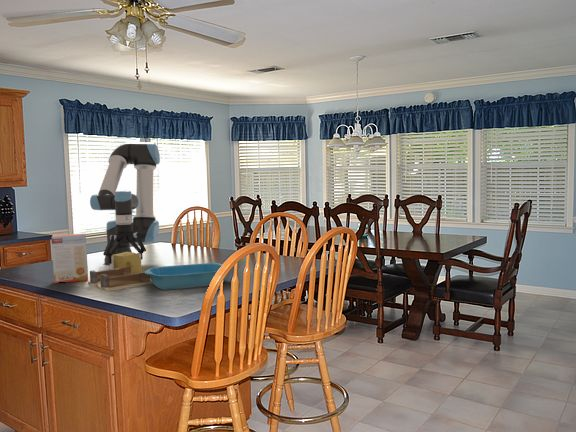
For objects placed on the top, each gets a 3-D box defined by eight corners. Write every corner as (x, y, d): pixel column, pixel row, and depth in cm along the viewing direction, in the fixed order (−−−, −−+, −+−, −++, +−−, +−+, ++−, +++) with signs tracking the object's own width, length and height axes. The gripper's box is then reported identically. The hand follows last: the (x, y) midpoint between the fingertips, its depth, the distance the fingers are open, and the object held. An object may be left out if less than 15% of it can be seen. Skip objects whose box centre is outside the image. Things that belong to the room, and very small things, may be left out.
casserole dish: (222, 275, 240) (222, 260, 240) (238, 285, 220) (237, 268, 219) (141, 283, 225) (140, 267, 225) (150, 294, 205) (149, 276, 204)
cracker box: (88, 278, 236) (86, 233, 234) (88, 281, 230) (85, 234, 229) (54, 281, 231) (52, 234, 229) (53, 283, 226) (51, 236, 224)
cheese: (142, 273, 246) (141, 252, 245) (124, 277, 237) (123, 256, 236) (127, 271, 252) (127, 251, 251) (109, 275, 242) (108, 254, 242)
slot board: (87, 283, 225) (87, 270, 224) (146, 274, 244) (146, 261, 243) (107, 291, 210) (106, 276, 210) (168, 280, 229) (168, 267, 229)
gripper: (101, 226, 231) (103, 273, 233) (152, 222, 248) (153, 266, 249) (94, 225, 236) (96, 271, 238) (144, 221, 253) (146, 264, 255)
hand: (125, 268), depth 244 cm, fingers open, 13 cm apart
